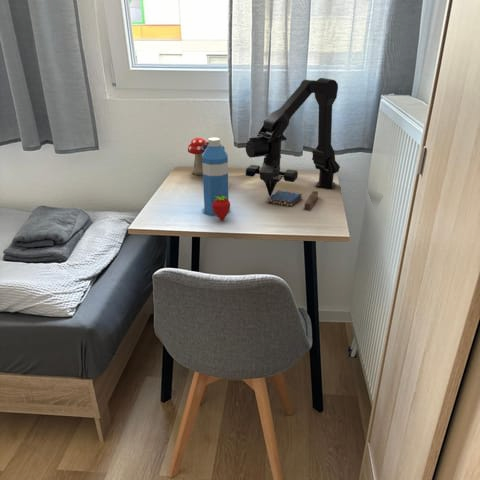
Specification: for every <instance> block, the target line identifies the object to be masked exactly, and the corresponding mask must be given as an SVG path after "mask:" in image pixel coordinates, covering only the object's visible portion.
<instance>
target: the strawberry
mask: <svg viewBox="0 0 480 480" xmlns="http://www.w3.org/2000/svg"><path fill="white" fill-rule="evenodd" d="M219 193H220V192H219ZM220 194H221V193H220ZM221 195H222V194H221ZM214 197H216V198H217V199H216V200H215V201H214V202H213V203H212V209H213V212H214V213H215V214H216V215H215V216H216V217H217V218H218V219H219V221H221V222H223V221H224V220H225V218H226V217H227V216H228V214H229V212H230V208H231V201H230V199H229V197H228V198H225V197H226V196H222V197H217V196H214ZM228 199H229V200H228Z"/></svg>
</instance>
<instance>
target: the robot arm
mask: <svg viewBox="0 0 480 480" xmlns="http://www.w3.org/2000/svg"><path fill="white" fill-rule="evenodd" d="M338 91H339V84H338V82H337V81H336V80H335V79H331V78H327V77H326V78H325V77H320V78H318V79H317V80H315V79H314V80H313V79H303V80H302V81H301V82H300V84H299V86H298V87H297V88H296V89H295V91H294V92H293V93H292V94H291V95H290V96H289V97H288V98H287V100H286V101H285V102H284V103H283V104H282V106H281V107H279V108H278V109H276V110H274V111H272V112H271V113H269V115H267V116H266V117H265V118H264V120H263V122H262V125H261V127H260V129H259V131H258V132H257V134H256V136H249V137H248V139H249V140H247V142H246V144H245V153H246V156H247V157H248V158H251V159H252V158H258V157H263V162H262V165H261V166H260V165H257V164H250V165H249V166H248V167H246V169H245V176H246V177H254V176H255V175H259V179H260V181H263V182H264V184H265V186H266V189H267V193H268V197H270V196H272V195H273V194H274V190H275V188H276V185H277V184H278V183H279V182H281V180H282V179H283V180H284V181H285V182H291V183H294V182H295V181H297V179H298V175H299V172H298V170H297V169H286V170H285V171H282V170H281V159H282V142H285V141H287V140H288V138H287V136H285V135H284V133H285V131H286V130H287V128H288V127H289V124H290V121H291V119H292V117H293V116H294V114H295V113H296V112H297V111H298V110H299V109H300V108H301V106H302V105H303V104H304V103H305V102H306V101H307V100H308V98H309V97H310V96H311V95H312V94H314V98H315V101H316V102H317V105H318V132H317V145H316V147H315V149H312V151H311V153H312V158H311V161H312V162H313V164H314V168H315V169H316V170H319V174H318V182H317V184H316V185H315V187H316V188H326V189H333V188H334V186H335V184H336V183H335V182H334V175H335V174H337V173H338V172H339V170H340V168H341V165H339V163H338V162H337V161H336V152H335V150H334V147H333V146H332V131H333V130H332V126H333V105H334V104H335V101H336V99H337V97H338Z"/></svg>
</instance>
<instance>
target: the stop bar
mask: <svg viewBox="0 0 480 480" xmlns="http://www.w3.org/2000/svg"><path fill="white" fill-rule="evenodd" d="M318 194H319V191H316V190H312V192H311V193H310V195H309V196H308V198H307V199H306V201H305V203H304V208H303V209H304V210H305V211H311V209H312V207H313V206H314V204H315V202H316V201H317V199H318V198H319V197H318V196H319V195H318Z"/></svg>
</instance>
